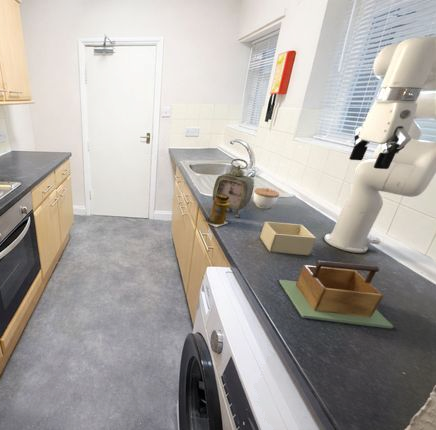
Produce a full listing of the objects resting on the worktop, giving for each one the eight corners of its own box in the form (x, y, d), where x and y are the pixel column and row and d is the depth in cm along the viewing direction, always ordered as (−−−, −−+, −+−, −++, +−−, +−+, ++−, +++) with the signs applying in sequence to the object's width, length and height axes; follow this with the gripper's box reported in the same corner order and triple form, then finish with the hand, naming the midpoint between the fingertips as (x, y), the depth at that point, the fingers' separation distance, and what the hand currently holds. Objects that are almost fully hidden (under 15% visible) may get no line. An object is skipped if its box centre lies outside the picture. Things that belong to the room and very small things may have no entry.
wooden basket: (345, 290, 74) (363, 255, 69) (371, 317, 65) (394, 279, 60) (294, 284, 76) (308, 250, 71) (313, 310, 67) (330, 273, 62)
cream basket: (295, 240, 100) (301, 224, 97) (309, 255, 91) (316, 238, 88) (259, 237, 102) (264, 221, 99) (269, 251, 93) (275, 234, 90)
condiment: (228, 222, 113) (235, 196, 108) (216, 227, 109) (222, 200, 104) (214, 216, 118) (219, 191, 113) (202, 220, 114) (206, 194, 109)
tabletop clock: (209, 210, 125) (219, 157, 114) (218, 205, 131) (229, 154, 120) (239, 220, 116) (254, 163, 105) (248, 214, 121) (262, 160, 111)
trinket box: (275, 205, 132) (281, 187, 128) (274, 212, 124) (279, 193, 120) (252, 200, 138) (256, 183, 134) (249, 207, 129) (254, 189, 125)
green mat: (353, 289, 76) (354, 287, 75) (392, 328, 63) (393, 326, 63) (279, 281, 78) (279, 279, 78) (302, 317, 66) (303, 315, 65)
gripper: (448, 97, 58) (409, 173, 65) (386, 96, 73) (360, 157, 81) (409, 96, 59) (375, 171, 66) (356, 95, 74) (333, 156, 82)
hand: (367, 163), depth 73 cm, fingers open, 9 cm apart
